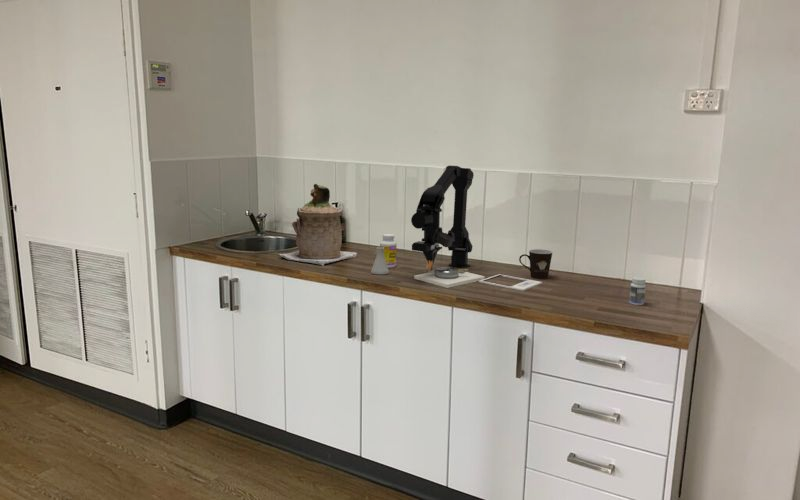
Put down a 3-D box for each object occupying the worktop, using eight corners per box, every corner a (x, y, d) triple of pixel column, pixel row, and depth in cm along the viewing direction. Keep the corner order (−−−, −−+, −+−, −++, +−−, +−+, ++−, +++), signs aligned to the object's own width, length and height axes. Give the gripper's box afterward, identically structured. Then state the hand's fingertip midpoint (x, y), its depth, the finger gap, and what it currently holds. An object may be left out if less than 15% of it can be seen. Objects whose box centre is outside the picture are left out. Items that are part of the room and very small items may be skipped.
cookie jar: (359, 256, 267) (359, 182, 260) (322, 267, 246) (322, 186, 240) (315, 250, 280) (314, 179, 273) (277, 259, 259) (275, 182, 253)
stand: (451, 271, 242) (451, 265, 242) (484, 279, 230) (484, 273, 229) (414, 278, 229) (414, 272, 229) (447, 287, 217) (447, 281, 216)
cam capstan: (466, 272, 233) (467, 258, 232) (469, 278, 225) (469, 263, 223) (425, 272, 233) (425, 258, 232) (426, 277, 224) (426, 263, 223)
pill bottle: (626, 301, 204) (628, 276, 202) (640, 301, 204) (642, 276, 203) (632, 305, 199) (635, 280, 198) (646, 305, 200) (649, 280, 198)
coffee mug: (552, 276, 237) (554, 250, 235) (548, 280, 230) (550, 254, 228) (522, 272, 242) (524, 247, 240) (517, 277, 234) (518, 251, 232)
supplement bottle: (389, 268, 245) (389, 236, 242) (376, 266, 249) (376, 235, 246) (399, 266, 250) (400, 234, 247) (386, 263, 254) (387, 232, 251)
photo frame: (523, 288, 215) (479, 280, 226) (522, 292, 215) (478, 283, 226) (542, 281, 226) (499, 273, 237) (542, 284, 226) (499, 276, 237)
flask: (387, 275, 233) (387, 249, 231) (368, 274, 235) (368, 248, 233) (391, 271, 240) (391, 246, 238) (373, 270, 242) (373, 245, 240)
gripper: (438, 230, 216) (437, 273, 219) (463, 223, 231) (461, 264, 234) (411, 227, 222) (410, 269, 225) (437, 221, 237) (436, 260, 241)
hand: (431, 266), depth 231 cm, fingers closed
